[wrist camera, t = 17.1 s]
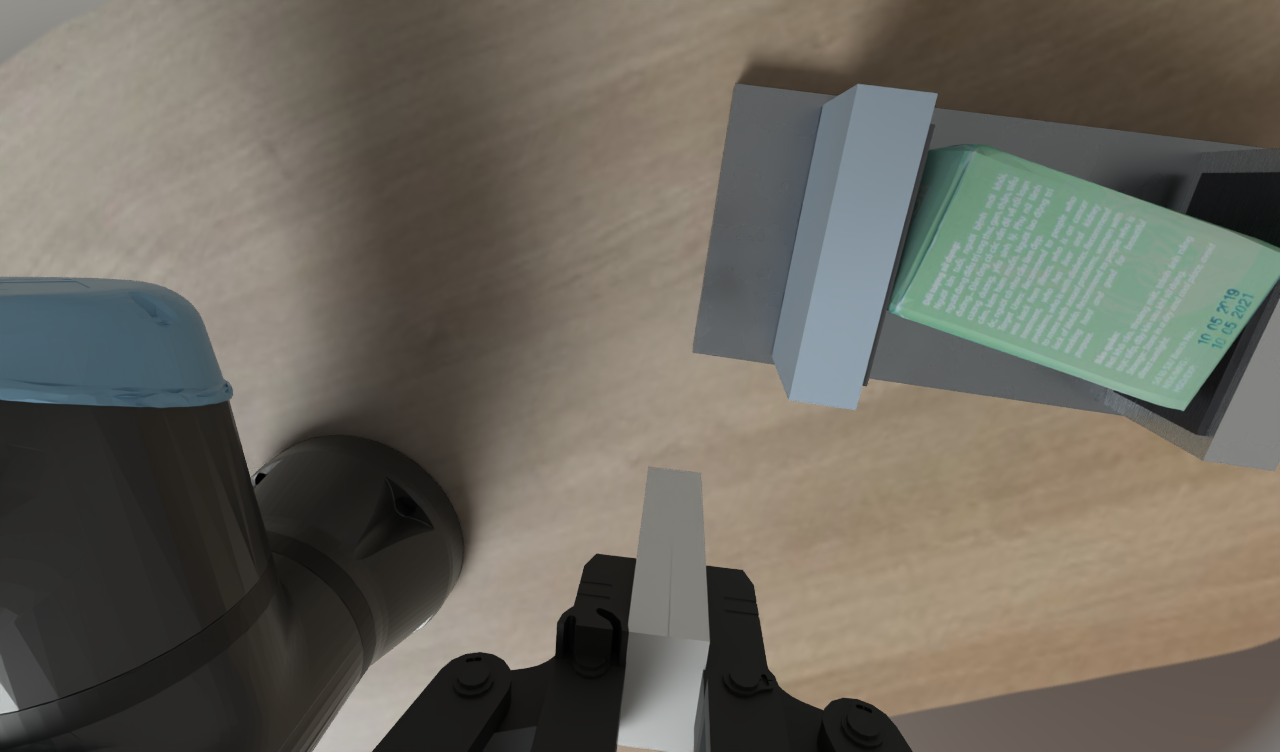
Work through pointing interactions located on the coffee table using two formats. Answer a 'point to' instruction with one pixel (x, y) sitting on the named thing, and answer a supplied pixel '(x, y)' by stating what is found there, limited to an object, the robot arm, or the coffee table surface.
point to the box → (1076, 274)
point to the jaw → (850, 240)
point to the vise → (924, 356)
